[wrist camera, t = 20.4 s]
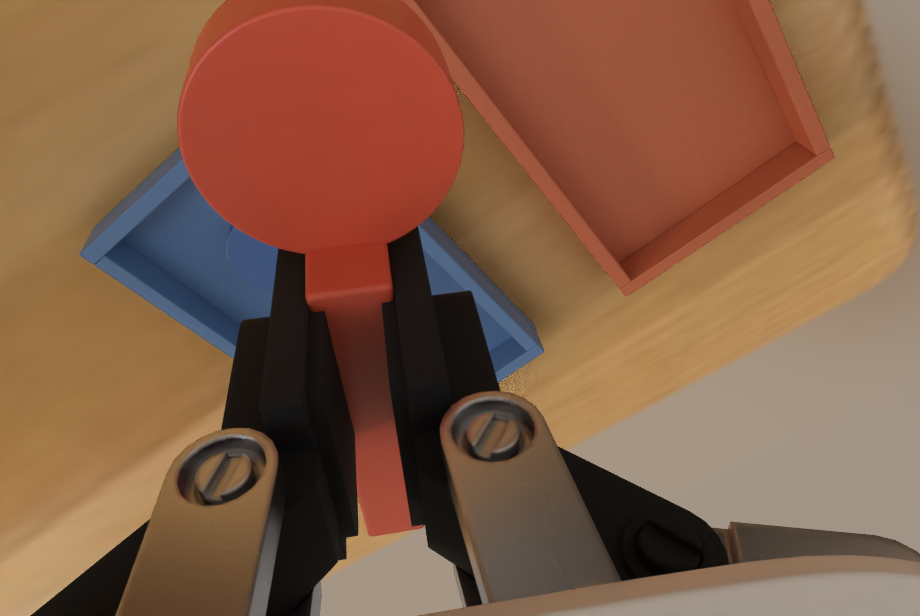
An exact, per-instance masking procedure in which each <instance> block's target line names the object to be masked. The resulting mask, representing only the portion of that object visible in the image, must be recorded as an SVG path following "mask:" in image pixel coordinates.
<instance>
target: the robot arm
mask: <svg viewBox="0 0 920 616" xmlns="http://www.w3.org/2000/svg"><path fill="white" fill-rule="evenodd" d="M387 246H388V254H389V261H390V268H391V276H392V283H393V290H394V299H393V300H392V301H389V302H384V303H381V305H382V315H383V325H384V336H385V346H386V356H387V367H388V377H389V385H390V393H391V400H392V407H393V413H394V420H395V426H396V432H397V438H398V445H399V451H400V457H401V463H402V469H403V476H404V482H405V488H406V494H407V501H408V507H409V513H410V519H411V525H412V527H414V526H420V525H425V528H426V535H427V542H428V547H429V548H430V549H432V550H433V551H435V552H436V553H438V554H440V555H441V556H443V557H444V558H446V559H447V560H449V561H450V562H452V563H453V565H454V574H455V578H456V582H457V586H458V590H459V593H460V597H461V601H462V604H463V608H460V609H454V610H448V611H442V612H436V613H431V614H425V615H419V616H920V554H919V553H918V552H917V551H915V550H913V549H911V548H909V547H907V546H905V545H903V544H902V543H900V542H898V541H896V540H892V539H888V538H884V537H880V536H875V535H866V534H855V533H845V532H844V533H843V532H834V531H823V530H813V529H801V528H791V527H780V526H770V525H760V524H749V523H738V522H730V525H729V528H728V529H719V528H711V527H710V526H709V525H708V524H707V523H706V522H705V521H704V520H702V519H701V518H699V517H697V516H696V515H694V514H693V513H691V512H690V511H688V510H686V509H684V508H682V507H680V506H677V505H675V504H674V503H671V502H669V501H668V500H665V499H664V498H661V497H659V496H657V495H655V494H653V493H651V492H649V491H647V490H645V489H643V488H641V487H639V486H637V485H635V484H633V483H631V482H629V481H627V480H625V479H623V478H621V477H619V476H617V475H615V474H613V473H611V472H609V471H607V470H605V469H603V468H600V467H599V466H597V465H595V464H593V463H590V462H588V461H586V460H584V459H582V458H580V457H578V456H576V455H574V454H572V453H570V452H568V451H566V450H564V449H562V448H560V447H558V446H557V444H556V442H555V440H554V438H553V436H552V434H551V432H550V430H549V428H548V426H547V423H546V421H545V419H544V417H543V416H542V414H541V413H540V412H539V410H538V409H537V408H536V406H534V405H533V404H532V403H530V402H529V401H528V400H526V399H525V398H523V397H520V396H517V395H515V394H512V393H509V392H501V391H500V388H499V384H498V381H497V377H496V374H495V370H494V367H493V363H492V360H491V356H490V353H489V349H488V346H487V342H486V339H485V335H484V332H483V328H482V325H481V321H480V318H479V314H478V310H477V307H476V303H475V300H474V297H473V294H472V292H471V290H469V291H461V292H453V293H446V294H438V295H432V293H431V288H430V283H429V278H428V273H427V268H426V263H425V258H424V253H423V248H422V243H421V238H420V233H419V228H418V226H417V227H416V228H415V229H413V230H412V231H410V232H409V233H407V234H406V235H404V236H402V237H400V238H398V239H396V240H395V241H393V242H390V243H388V244H387ZM352 536H358V504H357V476H356V449H355V432H354V428H353V424H352V420H351V416H350V412H349V408H348V404H347V400H346V396H345V392H344V388H343V384H342V380H341V376H340V372H339V368H338V364H337V360H336V356H335V352H334V348H333V344H332V339H331V335H330V331H329V327H328V323H327V319H326V315H325V311H318V312H311V311H309V306H308V304H307V302H306V299H305V254H300V253H295V252H291V251H287V250H282V249H279V248H278V254H277V263H276V271H275V279H274V288H273V296H272V304H271V313H270V317H263V318H255V319H248V320H243V321H242V322H241V324H240V327H239V332H238V338H237V344H236V349H235V355H234V361H233V366H232V372H231V378H230V383H229V389H228V395H227V400H226V406H225V412H224V418H223V423H222V429H221V430H219V431H216V432H213V433H211V434H208V435H206V436H204V437H201V438H199V439H198V440H197V441H195V442H194V443H192V444H191V445H189V446H188V447H186V448H185V449H184V450H183V451H182V452H181V453H180V454H179V455H178V456H177V457H176V458H175V460H174V461H173V463H172V465H171V467H170V468H169V470H168V472H167V474H166V477H165V479H164V482H163V485H162V488H161V491H160V493H159V496H158V499H157V502H156V504H155V507H154V510H153V513H152V516H151V518H150V519H149V520H148V521H147V522H146V523H144V524H143V525H142V526H141V527H140V528H138V529H137V530H136V531H135V532H133V533H132V534H131V535H130V536H128V537H127V538H126V539H125V540H123V541H122V542H121V543H120V544H119V545H117V546H116V547H115V548H114V549H112V550H111V551H110V552H109V553H107V554H106V555H105V556H104V557H102V558H101V559H100V560H99V561H98V562H96V563H95V564H94V565H93V566H91V567H90V568H89V569H88V570H86V571H85V572H84V573H83V574H81V575H80V576H79V577H78V578H77V579H75V580H74V581H73V582H72V583H70V584H69V585H68V586H67V587H65V588H64V589H63V590H62V591H60V592H59V593H58V594H57V595H56V596H54V597H53V598H52V599H51V600H49V601H48V602H47V603H46V604H44V605H43V606H42V607H41V608H39V609H38V610H37V611H36V612H35V613H33V614H32V615H31V616H319V615H320V606H321V598H322V594H321V582H320V580H321V579H322V578H323V577H324V576H325V575H326V574H327V573H328V572H329V571H330V570H331V569H332V568H333V567H334V566H335V564H336V563H337V562H338V560H343V559H347V558H346V537H352Z"/></svg>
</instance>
